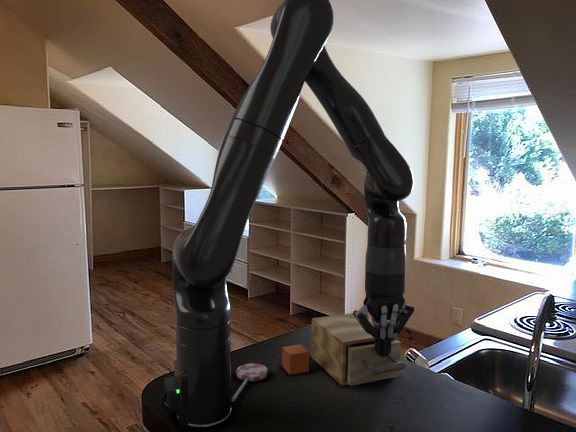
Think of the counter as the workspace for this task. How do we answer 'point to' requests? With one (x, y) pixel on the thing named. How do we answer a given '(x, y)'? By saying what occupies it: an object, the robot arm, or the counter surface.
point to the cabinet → (336, 342)
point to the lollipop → (250, 375)
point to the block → (295, 359)
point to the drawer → (371, 363)
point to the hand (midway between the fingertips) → (382, 355)
